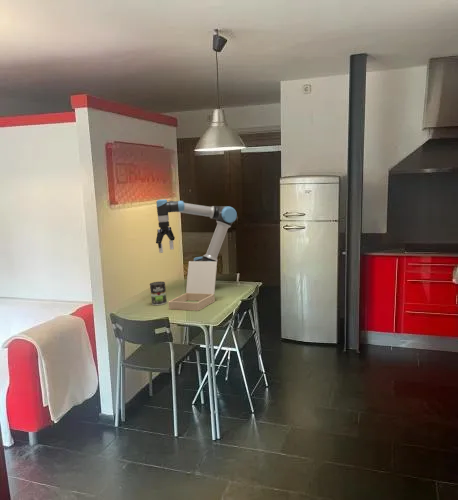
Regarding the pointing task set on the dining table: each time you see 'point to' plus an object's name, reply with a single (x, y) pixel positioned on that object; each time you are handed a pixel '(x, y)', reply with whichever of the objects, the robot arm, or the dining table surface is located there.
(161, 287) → the coffee can
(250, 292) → the dining table surface
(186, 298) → the mailer box
